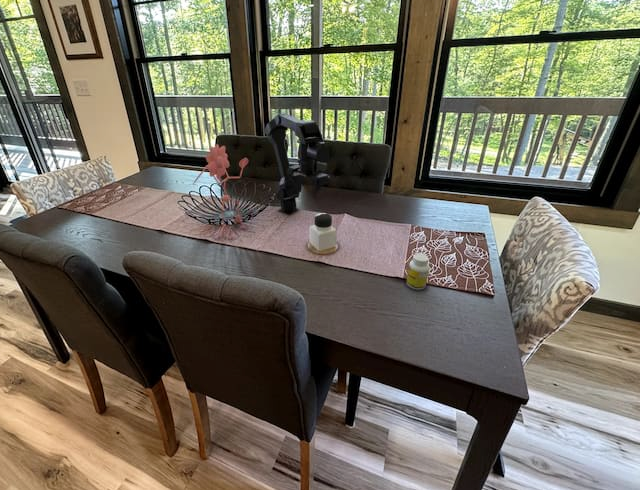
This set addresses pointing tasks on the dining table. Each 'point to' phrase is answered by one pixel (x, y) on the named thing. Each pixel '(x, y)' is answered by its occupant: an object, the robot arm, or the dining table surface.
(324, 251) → the coaster
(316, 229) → the medicine bottle
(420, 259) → the supplement bottle
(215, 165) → the figurine
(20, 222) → the dining table surface
